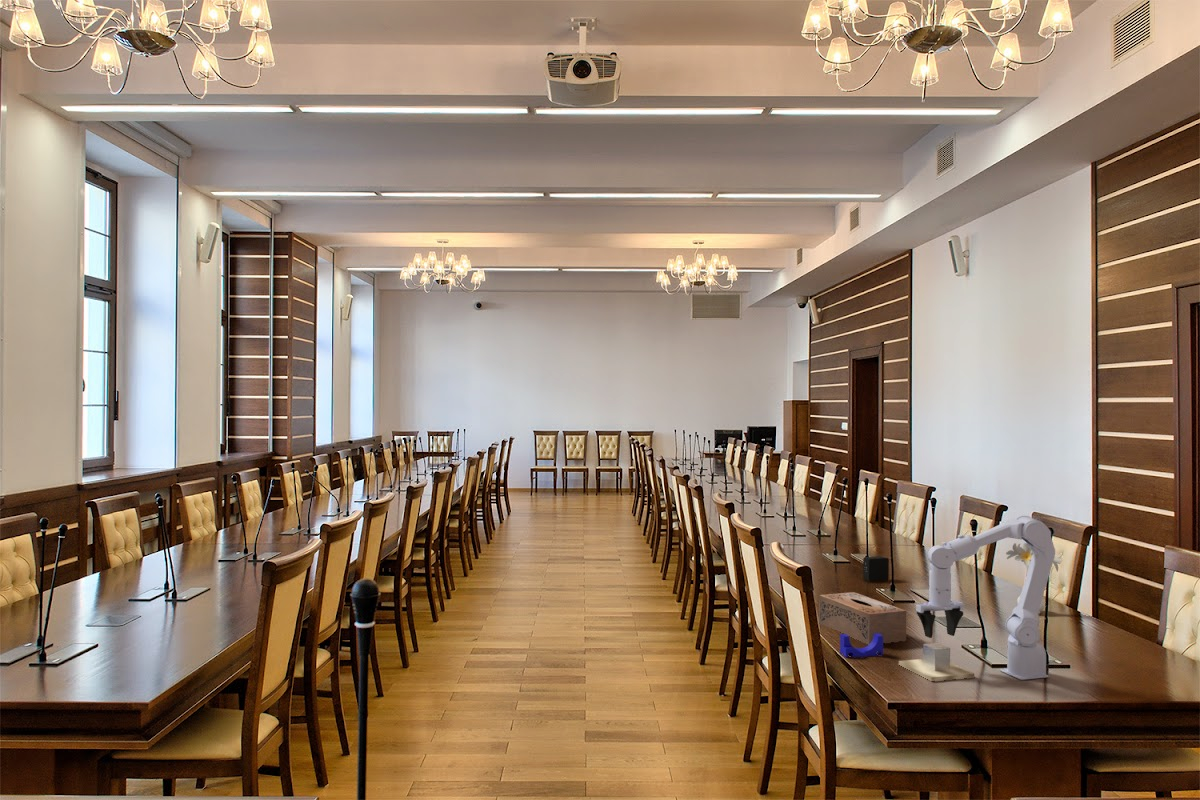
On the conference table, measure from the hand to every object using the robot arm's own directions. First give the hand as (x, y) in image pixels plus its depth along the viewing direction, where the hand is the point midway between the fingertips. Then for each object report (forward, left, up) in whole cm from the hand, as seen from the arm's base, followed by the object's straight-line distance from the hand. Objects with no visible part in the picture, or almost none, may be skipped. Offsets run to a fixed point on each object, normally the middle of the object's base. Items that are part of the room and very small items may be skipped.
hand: (939, 635), depth 223 cm
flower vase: (-77, -45, -10) cm, 90 cm away
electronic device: (-51, -103, -10) cm, 116 cm away
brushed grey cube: (+3, +2, -8) cm, 9 cm away
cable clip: (+15, -16, -10) cm, 24 cm away
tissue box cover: (+1, -37, -10) cm, 38 cm away
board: (+3, +2, -9) cm, 10 cm away
